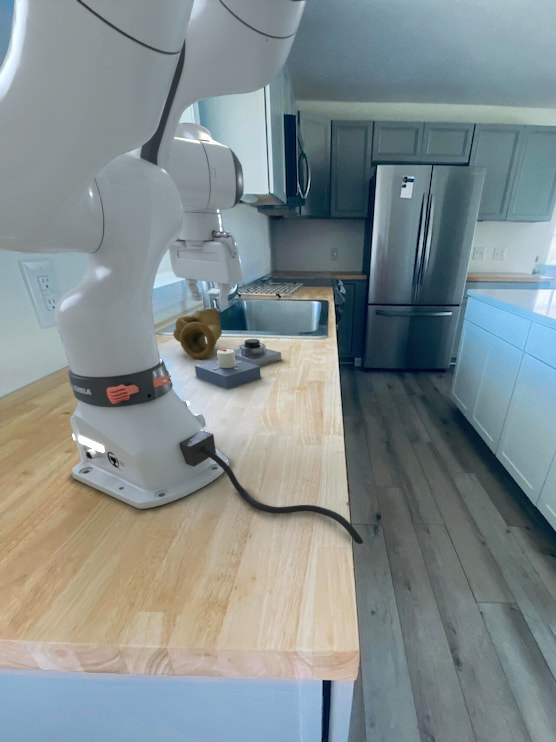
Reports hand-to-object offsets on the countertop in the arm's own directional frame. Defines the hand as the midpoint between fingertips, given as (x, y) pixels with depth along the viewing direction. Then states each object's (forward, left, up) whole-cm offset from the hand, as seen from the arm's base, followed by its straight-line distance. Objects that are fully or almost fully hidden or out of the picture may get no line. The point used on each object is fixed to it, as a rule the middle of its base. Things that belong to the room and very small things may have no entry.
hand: (209, 303), depth 79 cm
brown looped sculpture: (+27, -13, -18) cm, 35 cm away
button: (+6, -16, -14) cm, 22 cm away
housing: (+6, -16, -17) cm, 24 cm away
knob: (-1, -2, -14) cm, 15 cm away
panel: (-1, -2, -17) cm, 18 cm away
